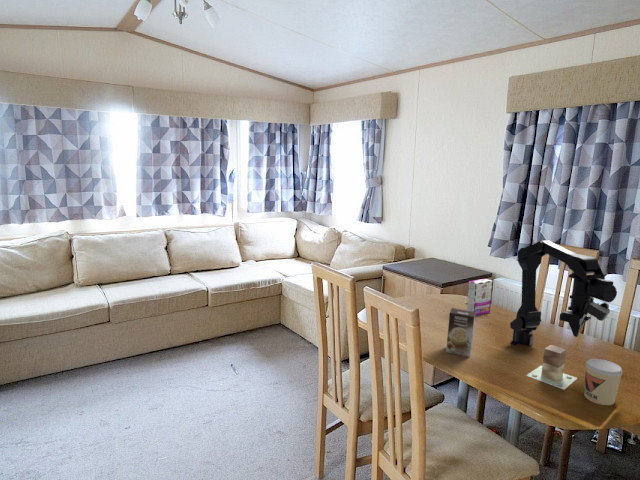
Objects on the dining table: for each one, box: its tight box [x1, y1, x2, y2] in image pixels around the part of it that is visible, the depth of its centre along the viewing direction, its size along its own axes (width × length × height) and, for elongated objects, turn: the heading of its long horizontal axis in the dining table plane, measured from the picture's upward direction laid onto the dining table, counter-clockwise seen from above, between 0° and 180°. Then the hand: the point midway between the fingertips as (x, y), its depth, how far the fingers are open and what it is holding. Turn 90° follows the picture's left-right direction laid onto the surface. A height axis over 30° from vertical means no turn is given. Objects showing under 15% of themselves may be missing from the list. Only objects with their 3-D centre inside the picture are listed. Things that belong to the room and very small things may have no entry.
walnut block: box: [542, 344, 567, 368], centre depth 146 cm, size 5×5×5 cm
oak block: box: [541, 362, 565, 382], centre depth 147 cm, size 5×5×5 cm
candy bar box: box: [466, 278, 493, 317], centre depth 211 cm, size 11×5×16 cm, turn 117°
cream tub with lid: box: [583, 358, 623, 406], centre depth 134 cm, size 9×9×12 cm
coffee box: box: [445, 307, 476, 358], centre depth 167 cm, size 9×6×16 cm
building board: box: [525, 365, 578, 390], centre depth 148 cm, size 12×12×1 cm
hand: (575, 336), depth 152 cm, fingers closed
